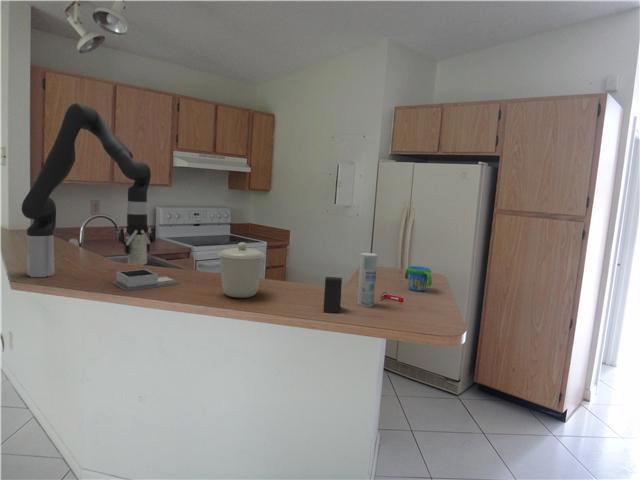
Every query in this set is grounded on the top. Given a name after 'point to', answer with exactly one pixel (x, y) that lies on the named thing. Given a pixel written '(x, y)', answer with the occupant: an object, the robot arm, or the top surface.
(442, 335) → the top surface
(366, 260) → the spray can
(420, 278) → the snack cup
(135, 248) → the skincare box
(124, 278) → the board
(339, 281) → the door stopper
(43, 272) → the robot arm
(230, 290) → the canister
